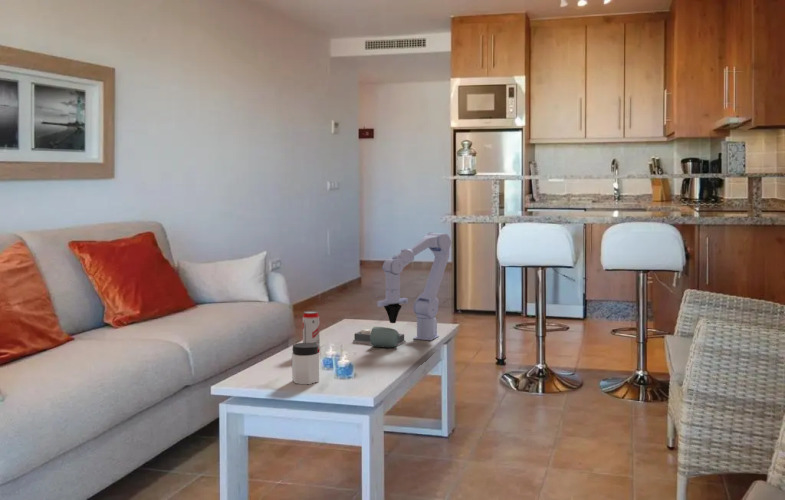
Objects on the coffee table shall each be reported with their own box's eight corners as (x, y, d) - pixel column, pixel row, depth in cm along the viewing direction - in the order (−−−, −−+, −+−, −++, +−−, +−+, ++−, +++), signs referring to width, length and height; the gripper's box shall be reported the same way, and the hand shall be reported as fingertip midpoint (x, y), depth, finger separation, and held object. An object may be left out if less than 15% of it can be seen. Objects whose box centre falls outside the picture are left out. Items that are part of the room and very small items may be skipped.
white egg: (363, 336, 322) (363, 328, 322) (372, 336, 320) (372, 329, 320) (359, 337, 318) (359, 330, 318) (368, 338, 317) (368, 331, 316)
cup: (394, 329, 302) (370, 327, 305) (393, 349, 302) (369, 347, 305) (401, 327, 309) (378, 325, 313) (400, 347, 309) (377, 345, 313)
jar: (306, 376, 261) (306, 341, 260) (324, 380, 256) (323, 344, 255) (286, 382, 254) (286, 345, 253) (304, 386, 249) (303, 349, 248)
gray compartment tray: (362, 338, 325) (362, 330, 325) (405, 342, 317) (405, 334, 316) (352, 342, 317) (352, 333, 317) (397, 346, 309) (397, 337, 309)
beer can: (322, 352, 298) (322, 311, 296) (315, 356, 292) (315, 313, 290) (307, 351, 300) (306, 310, 298) (300, 355, 294) (299, 312, 292)
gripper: (399, 286, 320) (399, 319, 321) (372, 289, 311) (372, 323, 312) (411, 288, 315) (411, 321, 316) (383, 291, 306) (383, 326, 307)
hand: (392, 322), depth 314 cm, fingers closed
